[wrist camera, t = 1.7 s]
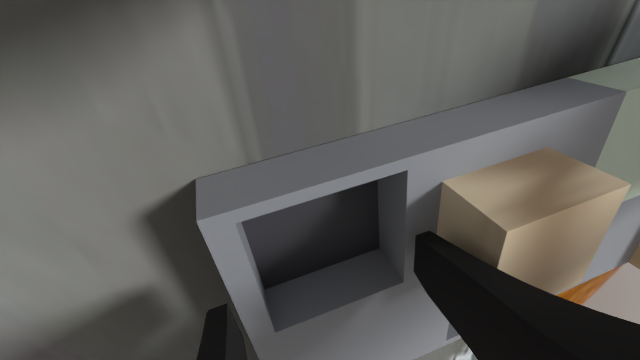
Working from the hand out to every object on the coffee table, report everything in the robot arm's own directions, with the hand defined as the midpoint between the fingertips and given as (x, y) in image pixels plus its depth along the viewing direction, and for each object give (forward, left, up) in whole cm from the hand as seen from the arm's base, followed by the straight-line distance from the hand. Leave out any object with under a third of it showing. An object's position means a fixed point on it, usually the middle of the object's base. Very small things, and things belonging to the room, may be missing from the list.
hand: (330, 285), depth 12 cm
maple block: (-7, 0, -1) cm, 8 cm away
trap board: (-9, +3, -3) cm, 10 cm away
